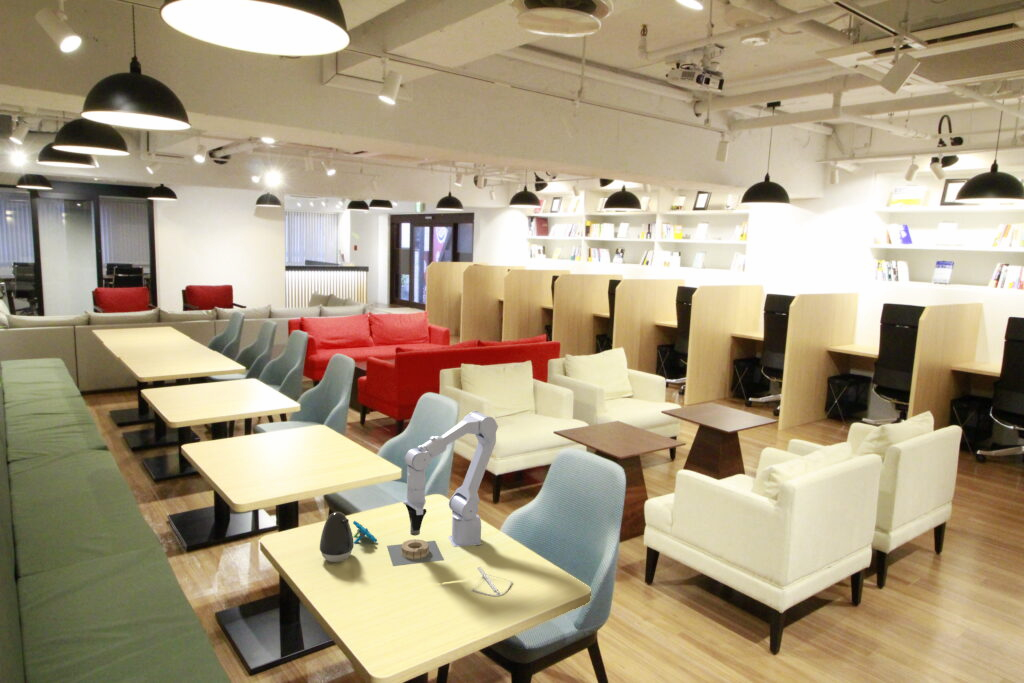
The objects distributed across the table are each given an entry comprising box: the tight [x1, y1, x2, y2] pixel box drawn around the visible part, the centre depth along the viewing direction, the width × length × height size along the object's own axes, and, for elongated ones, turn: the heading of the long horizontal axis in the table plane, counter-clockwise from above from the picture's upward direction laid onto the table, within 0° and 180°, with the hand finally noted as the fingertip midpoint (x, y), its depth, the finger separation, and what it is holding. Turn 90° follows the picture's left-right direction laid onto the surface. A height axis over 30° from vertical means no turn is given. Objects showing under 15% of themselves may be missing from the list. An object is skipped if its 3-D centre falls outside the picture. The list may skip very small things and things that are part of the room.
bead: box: [401, 539, 429, 559], centre depth 208 cm, size 8×8×2 cm
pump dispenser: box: [319, 511, 355, 563], centre depth 202 cm, size 10×10×15 cm
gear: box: [352, 520, 378, 545], centre depth 215 cm, size 11×6×10 cm
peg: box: [409, 521, 421, 537], centre depth 207 cm, size 3×3×6 cm
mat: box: [386, 540, 445, 567], centre depth 208 cm, size 16×14×1 cm
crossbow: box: [471, 566, 513, 597], centre depth 193 cm, size 16×13×2 cm
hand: (415, 527), depth 207 cm, fingers closed on peg, 3 cm apart
